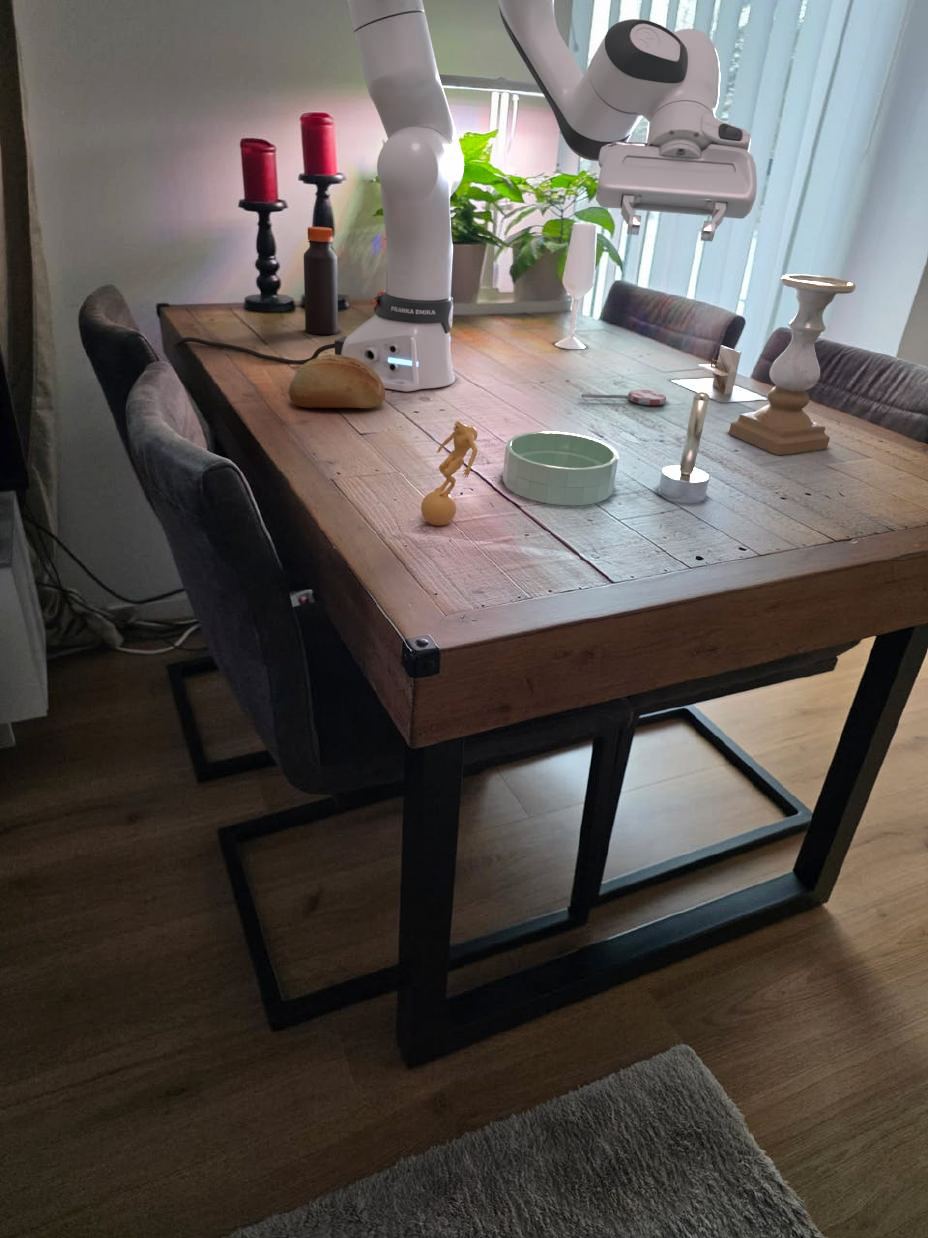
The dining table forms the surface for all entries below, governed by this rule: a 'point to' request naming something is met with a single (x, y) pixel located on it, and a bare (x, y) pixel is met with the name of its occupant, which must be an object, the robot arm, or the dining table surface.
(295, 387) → the bread roll
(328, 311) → the bottle
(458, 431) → the figurine
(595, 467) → the bowl
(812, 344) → the candle holder
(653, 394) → the lollipop
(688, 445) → the meat pounder
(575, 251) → the champagne flute
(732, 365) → the architectural model
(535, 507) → the dining table surface
